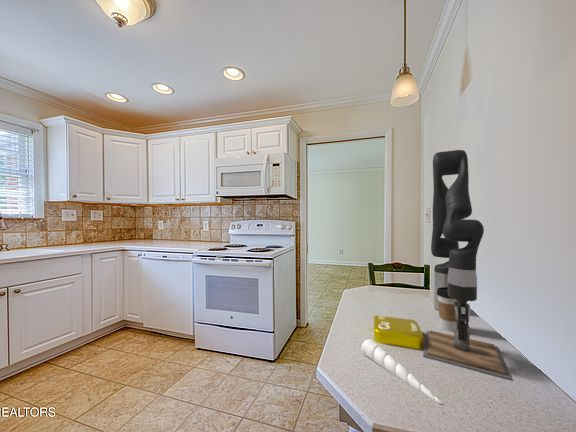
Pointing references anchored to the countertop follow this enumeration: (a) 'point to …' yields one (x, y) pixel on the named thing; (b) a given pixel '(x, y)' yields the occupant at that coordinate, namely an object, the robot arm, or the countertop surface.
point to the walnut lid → (465, 351)
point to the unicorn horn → (393, 367)
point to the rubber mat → (467, 365)
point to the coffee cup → (446, 310)
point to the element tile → (397, 332)
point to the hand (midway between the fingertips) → (461, 334)
